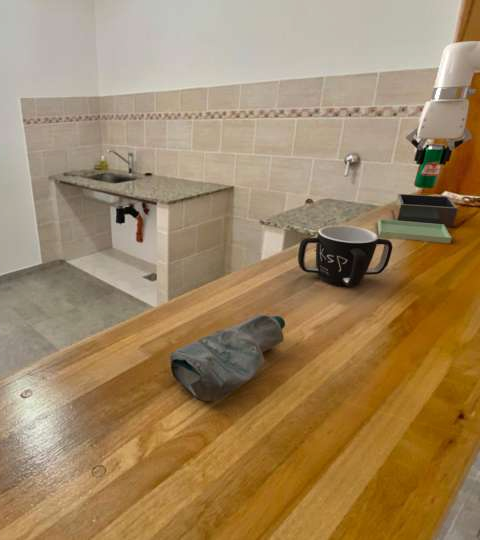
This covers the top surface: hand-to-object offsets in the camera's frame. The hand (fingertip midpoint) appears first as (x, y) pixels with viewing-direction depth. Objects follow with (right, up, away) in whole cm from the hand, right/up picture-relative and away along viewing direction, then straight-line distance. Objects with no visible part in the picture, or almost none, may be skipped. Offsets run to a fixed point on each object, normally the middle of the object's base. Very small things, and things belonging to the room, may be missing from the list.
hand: (430, 163), depth 110 cm
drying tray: (+1, -19, +9) cm, 21 cm away
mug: (-36, -33, -17) cm, 52 cm away
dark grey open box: (+13, -13, +20) cm, 28 cm away
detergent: (-70, -48, -43) cm, 95 cm away
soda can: (0, -6, +3) cm, 7 cm away
